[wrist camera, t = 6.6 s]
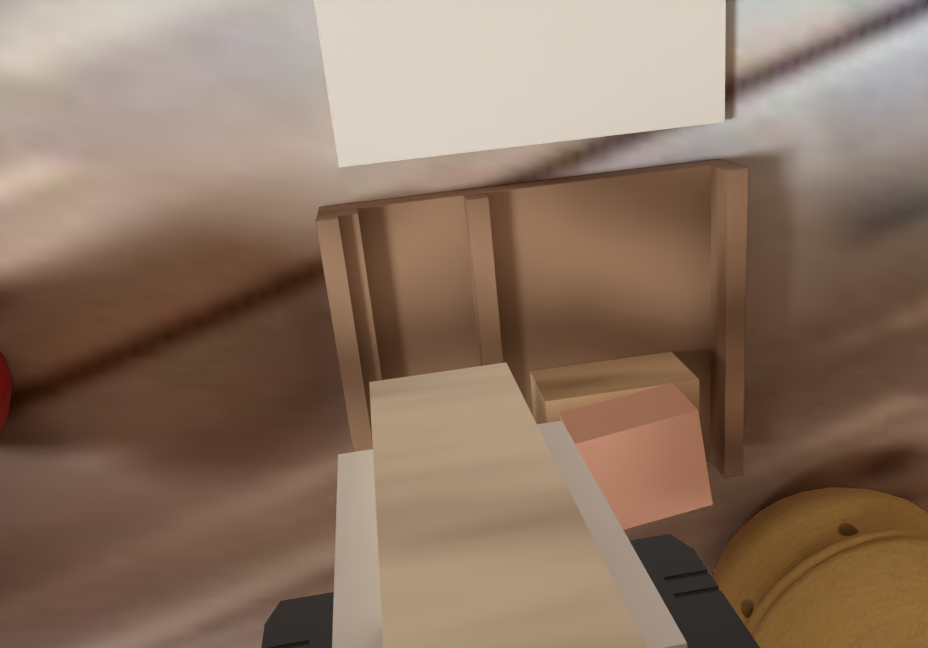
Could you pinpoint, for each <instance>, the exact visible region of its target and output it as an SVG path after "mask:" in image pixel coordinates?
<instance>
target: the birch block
mask: <svg viewBox="0 0 928 648" xmlns="http://www.w3.org/2000/svg"><path fill="white" fill-rule="evenodd" d="M369 387H370V405H371V424H372V443H373V461H374V480H375V498H376V517H377V535H378V554H379V573H380V591H381V610H382V628H383V647H384V648H647V647H646V645H645V643H644V641H643V639H642V637H641V635H640V633H639V631H638V628H637V626H636V624H635V622H634V620H633V618H632V616H631V614H630V612H629V610H628V608H627V606H626V604H625V602H624V600H623V598H622V596H621V594H620V592H619V590H618V588H617V586H616V584H615V582H614V580H613V578H612V576H611V574H610V572H609V570H608V568H607V566H606V564H605V562H604V560H603V558H602V555H601V553H600V551H599V549H598V547H597V545H596V543H595V541H594V539H593V537H592V535H591V533H590V531H589V529H588V527H587V525H586V523H585V521H584V519H583V517H582V515H581V513H580V511H579V509H578V507H577V505H576V503H575V501H574V499H573V497H572V495H571V493H570V491H569V489H568V487H567V484H566V482H565V480H564V478H563V476H562V474H561V472H560V470H559V468H558V466H557V464H556V462H555V460H554V458H553V456H552V454H551V452H550V450H549V448H548V446H547V444H546V442H545V440H544V438H543V436H542V434H541V432H540V430H539V428H538V426H537V424H536V422H535V420H534V418H533V416H532V413H531V411H530V409H529V407H528V405H527V403H526V401H525V399H524V397H523V395H522V393H521V391H520V389H519V387H518V385H517V383H516V381H515V379H514V377H513V375H512V373H511V371H510V369H509V367H508V365H507V363H499V364H492V365H485V366H478V367H471V368H464V369H457V370H450V371H443V372H436V373H429V374H422V375H415V376H408V377H401V378H394V379H387V380H380V381H374V382H369Z"/></svg>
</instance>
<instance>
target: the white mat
mask: <svg viewBox="0 0 928 648" xmlns="http://www.w3.org/2000/svg"><path fill="white" fill-rule="evenodd" d="M314 5H315V12H316V18H317V25H318V32H319V38H320V45H321V51H322V58H323V65H324V71H325V78H326V85H327V91H328V98H329V105H330V111H331V118H332V125H333V131H334V138H335V144H336V151H337V158H338V164H339V167H347V166H356V165H364V164H373V163H381V162H390V161H398V160H407V159H415V158H424V157H432V156H441V155H449V154H458V153H466V152H475V151H483V150H492V149H500V148H509V147H517V146H526V145H534V144H543V143H551V142H560V141H568V140H577V139H585V138H594V137H602V136H611V135H619V134H628V133H636V132H645V131H653V130H662V129H670V128H679V127H687V126H696V125H704V124H713V123H721V122H725V33H726V0H314Z"/></svg>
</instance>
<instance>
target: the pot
mask: <svg viewBox="0 0 928 648" xmlns="http://www.w3.org/2000/svg"><path fill="white" fill-rule="evenodd" d="M712 578H713V579H714V581H715V582H716V583H717V585H718V587H719V591H722V592H723V594H724V595H725V597H726V598H727V600H728V601H729V603H730V604H731V605H732V607H733V608H734V610H735V611H736V613H737V614H738V616H739V617H740V619H741V620H742V622H743V623H744V625H745V626H746V627H747V629H748V630H749V632H750V633H751V635H752V636H753V638H754V639H755V641H756V642H757V644H758V645H759V647H760V648H928V512H926V511H924V510H923V509H921V508H920V507H918V506H916V505H915V504H913V503H912V502H910V501H908V500H906V499H903V498H900V497H897V496H894V495H890V494H887V493H883V492H880V491H876V490H871V489H860V488H841V487H830V488H823V489H816V490H810V491H804V492H800V493H797V494H795V495H792V496H789V497H786V498H783V499H780V500H778V501H777V502H775V503H773V504H771V505H770V506H768V507H766V508H765V509H763V510H761V511H759V512H758V513H757V514H756V515H755V516H754V517H752V518H751V519H750V520H749V521H748V522H746V523H745V524H744V525H743V526H742V527H741V528H740V529H739V530H738V532H737V533H736V534H735V535H734V537H733V538H732V539H731V540H730V541H729V543H728V544H727V545H726V547H725V549H724V551H723V553H722V555H721V557H720V559H719V561H718V563H717V565H716V567H715V569H714V573H713V577H712Z"/></svg>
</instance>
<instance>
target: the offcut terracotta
mask: <svg viewBox="0 0 928 648" xmlns="http://www.w3.org/2000/svg"><path fill="white" fill-rule="evenodd" d="M559 415H560V420H561V421H562V422H563V424H564V426H565V427H566V429H567V431H568V433H569V434H570V436H571V438H572V440H573V442H574V443H575V445H576V447H577V449H578V450H579V452H580V454H581V456H582V458H583V459H584V461H585V463H586V465H587V466H588V468H589V470H590V472H591V474H592V475H593V477H594V479H595V481H596V482H597V484H598V486H599V488H600V490H601V491H602V493H603V495H604V497H605V498H606V500H607V502H608V504H609V505H610V507H611V509H612V511H613V513H614V514H615V516H616V518H617V520H618V521H619V523H620V525H621V527H622V529H623V530H625V529H628V528H632V527H636V526H639V525H643V524H646V523H650V522H653V521H657V520H660V519H664V518H668V517H671V516H675V515H678V514H682V513H685V512H689V511H693V510H696V509H700V508H703V507H707V506H710V505H713V502H712V495H711V489H710V483H709V476H708V470H707V464H706V457H705V451H704V445H703V438H702V432H701V426H700V419H699V413H698V409H697V408H696V407H695V406H694V405H693V404H692V403H691V402H690V401H689V400H688V399H687V397H686V396H685V395H684V394H683V393H682V392H681V391H680V390H679V389H678V388H677V387H676V385H675V384H674V383H673V382H672V383H668V384H665V385H661V386H658V387H654V388H650V389H647V390H643V391H639V392H636V393H632V394H629V395H625V396H621V397H618V398H614V399H610V400H607V401H603V402H600V403H596V404H592V405H589V406H585V407H581V408H578V409H574V410H571V411H567V412H563V413H560V414H559Z"/></svg>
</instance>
